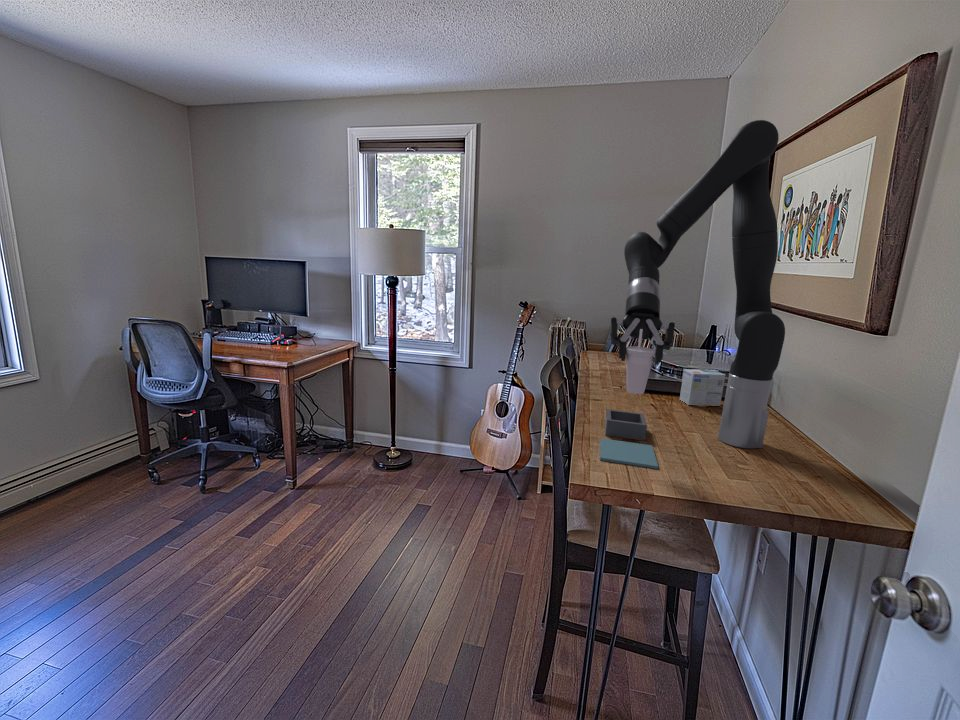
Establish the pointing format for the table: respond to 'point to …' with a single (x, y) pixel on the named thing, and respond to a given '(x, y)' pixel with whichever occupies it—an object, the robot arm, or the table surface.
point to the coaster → (627, 453)
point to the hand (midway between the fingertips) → (640, 360)
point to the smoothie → (638, 366)
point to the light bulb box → (702, 387)
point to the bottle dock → (625, 424)
